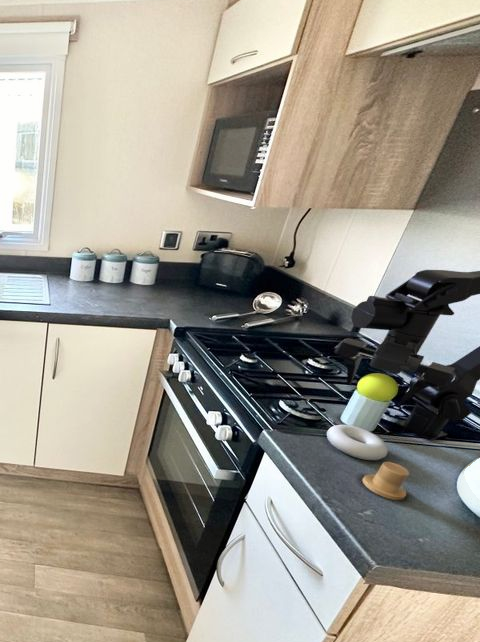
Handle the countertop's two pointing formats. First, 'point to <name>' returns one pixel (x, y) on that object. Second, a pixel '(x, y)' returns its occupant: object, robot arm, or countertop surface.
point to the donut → (357, 442)
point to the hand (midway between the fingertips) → (373, 393)
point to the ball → (377, 387)
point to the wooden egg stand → (387, 481)
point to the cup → (364, 412)
